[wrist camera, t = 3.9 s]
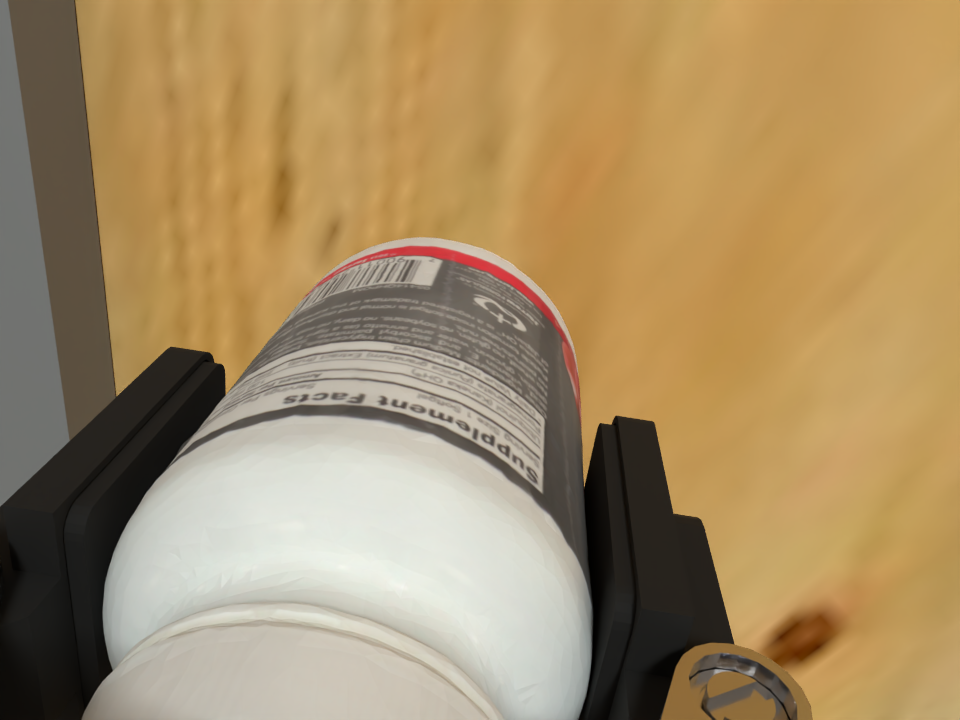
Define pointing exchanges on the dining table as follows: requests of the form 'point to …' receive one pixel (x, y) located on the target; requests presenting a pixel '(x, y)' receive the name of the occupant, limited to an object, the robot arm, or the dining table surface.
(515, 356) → the pill bottle
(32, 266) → the switch board
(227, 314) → the dining table surface
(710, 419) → the dining table surface
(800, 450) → the dining table surface
